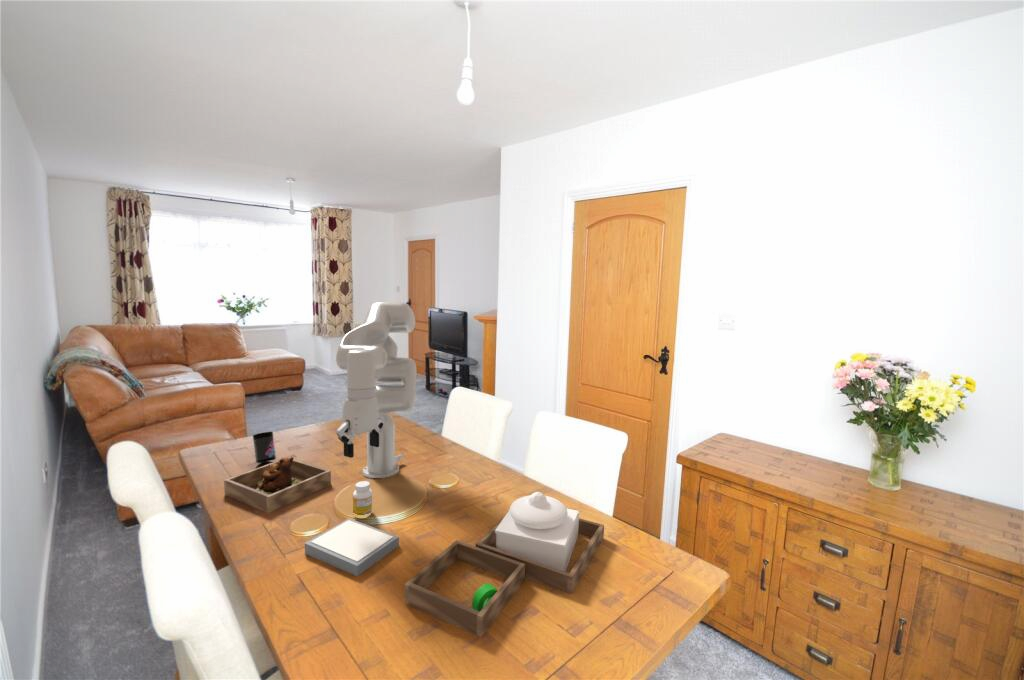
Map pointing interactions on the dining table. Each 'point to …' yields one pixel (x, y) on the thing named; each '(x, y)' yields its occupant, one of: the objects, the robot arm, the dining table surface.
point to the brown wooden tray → (242, 492)
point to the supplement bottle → (362, 498)
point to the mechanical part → (483, 596)
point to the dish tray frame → (550, 574)
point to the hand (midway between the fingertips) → (362, 451)
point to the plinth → (351, 546)
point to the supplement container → (264, 447)
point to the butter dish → (539, 530)
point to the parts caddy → (453, 610)
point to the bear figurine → (277, 477)
